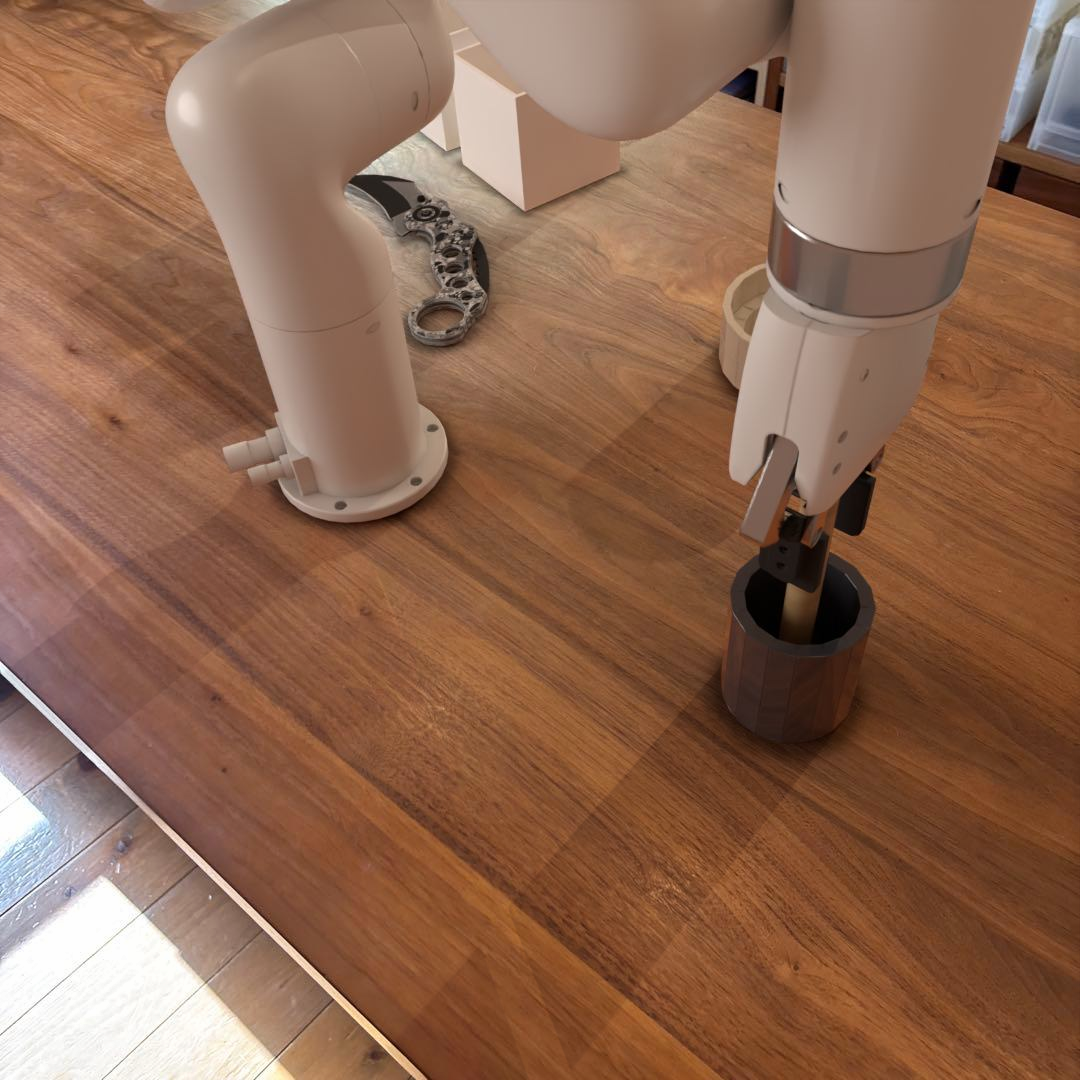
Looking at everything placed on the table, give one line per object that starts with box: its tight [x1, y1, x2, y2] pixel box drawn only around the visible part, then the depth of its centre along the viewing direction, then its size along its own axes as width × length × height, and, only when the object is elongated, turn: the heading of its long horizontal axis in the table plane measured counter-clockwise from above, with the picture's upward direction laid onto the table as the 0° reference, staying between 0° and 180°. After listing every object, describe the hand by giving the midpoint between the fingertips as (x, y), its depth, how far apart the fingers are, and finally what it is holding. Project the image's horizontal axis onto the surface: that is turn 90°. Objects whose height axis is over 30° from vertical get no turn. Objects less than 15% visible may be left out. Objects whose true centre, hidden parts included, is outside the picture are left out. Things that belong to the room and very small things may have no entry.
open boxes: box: [419, 0, 621, 212], centre depth 107 cm, size 25×11×11 cm, turn 34°
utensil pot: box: [720, 551, 877, 744], centre depth 63 cm, size 8×8×9 cm
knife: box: [347, 173, 491, 347], centre depth 99 cm, size 28×2×10 cm
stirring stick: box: [778, 498, 840, 645], centre depth 59 cm, size 2×2×18 cm
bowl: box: [718, 262, 771, 390], centre depth 84 cm, size 12×12×6 cm
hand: (811, 546), depth 56 cm, fingers open, 3 cm apart
